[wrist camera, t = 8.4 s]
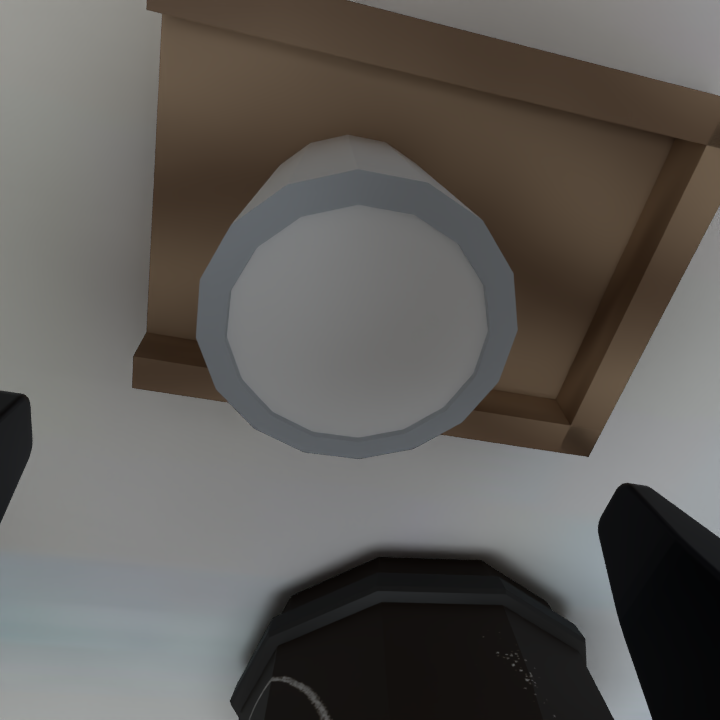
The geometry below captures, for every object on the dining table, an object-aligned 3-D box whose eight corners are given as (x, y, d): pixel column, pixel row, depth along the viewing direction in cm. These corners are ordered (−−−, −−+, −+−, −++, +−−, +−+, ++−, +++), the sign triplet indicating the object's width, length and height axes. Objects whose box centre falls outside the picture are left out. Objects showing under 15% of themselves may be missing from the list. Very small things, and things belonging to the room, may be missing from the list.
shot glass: (498, 166, 18) (584, 249, 12) (403, 353, 21) (433, 493, 15) (278, 70, 16) (250, 109, 10) (210, 288, 20) (158, 414, 14)
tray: (562, 411, 24) (588, 456, 22) (153, 345, 22) (132, 387, 19) (712, 94, 18) (769, 108, 16) (175, -43, 16) (148, -51, 14)
